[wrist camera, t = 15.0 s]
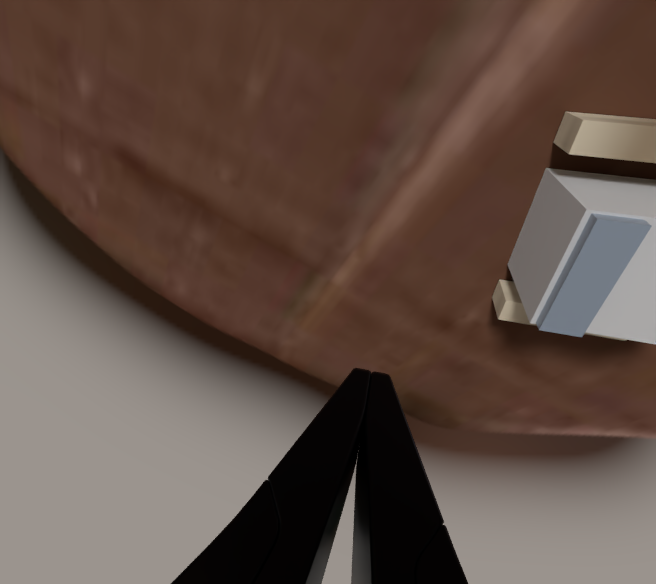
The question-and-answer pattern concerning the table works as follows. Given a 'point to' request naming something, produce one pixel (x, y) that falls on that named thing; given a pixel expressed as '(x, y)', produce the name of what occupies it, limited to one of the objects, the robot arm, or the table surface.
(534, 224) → the plug block
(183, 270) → the table surface
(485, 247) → the table surface
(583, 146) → the guide rails
